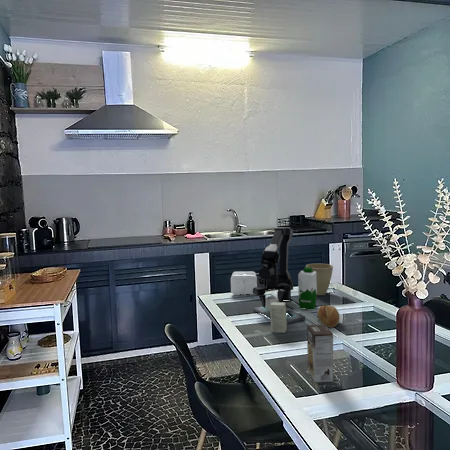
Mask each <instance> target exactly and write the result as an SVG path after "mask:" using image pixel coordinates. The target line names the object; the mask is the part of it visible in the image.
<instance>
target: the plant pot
mask: <svg viewBox="0 0 450 450" xmlns="http://www.w3.org/2000/svg"><path fill="white" fill-rule="evenodd" d="M305 267H311V268H312V271H316V281H317V296H325V295H326V294H327V293H328V290H329V287H330V283H331V280H332V276H333V268H334V266H333V265H332V264H329V263H309V264H306V265H305Z"/></svg>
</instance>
